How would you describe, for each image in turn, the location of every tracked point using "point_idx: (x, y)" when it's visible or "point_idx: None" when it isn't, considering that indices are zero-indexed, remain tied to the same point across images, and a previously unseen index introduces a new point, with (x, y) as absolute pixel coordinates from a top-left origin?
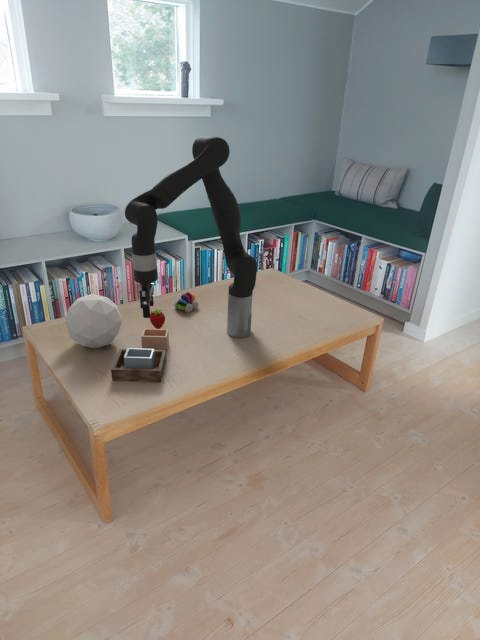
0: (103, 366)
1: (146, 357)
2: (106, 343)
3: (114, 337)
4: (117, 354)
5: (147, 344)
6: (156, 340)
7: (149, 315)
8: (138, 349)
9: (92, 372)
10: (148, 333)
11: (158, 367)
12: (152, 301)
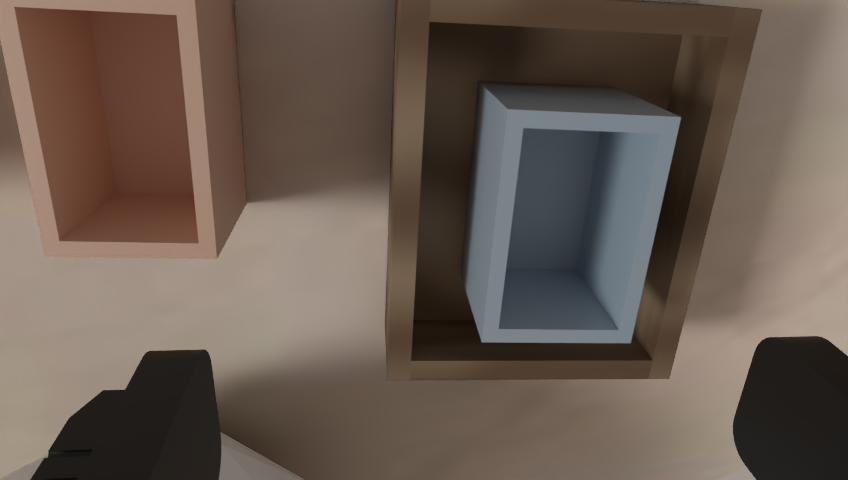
0: (465, 403)
1: (658, 164)
2: (279, 466)
3: (234, 448)
4: (472, 378)
5: (231, 178)
6: (214, 104)
7: (843, 369)
8: (507, 251)
9: (527, 442)
10: (75, 197)
11: (535, 44)
12: (168, 443)
